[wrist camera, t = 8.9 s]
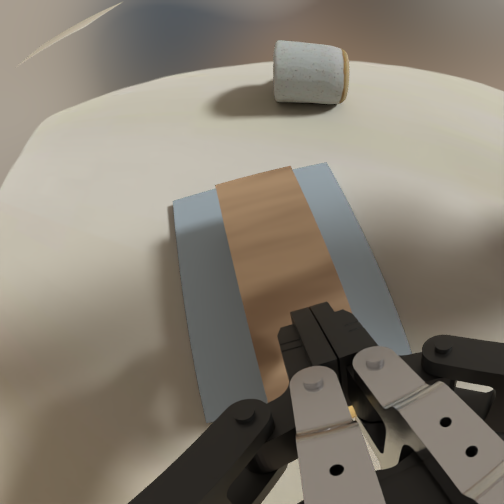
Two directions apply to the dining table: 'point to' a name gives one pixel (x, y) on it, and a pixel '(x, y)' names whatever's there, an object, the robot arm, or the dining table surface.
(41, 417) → the dining table surface
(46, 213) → the dining table surface
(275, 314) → the walnut block
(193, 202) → the slate mat
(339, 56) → the ceramic mug
